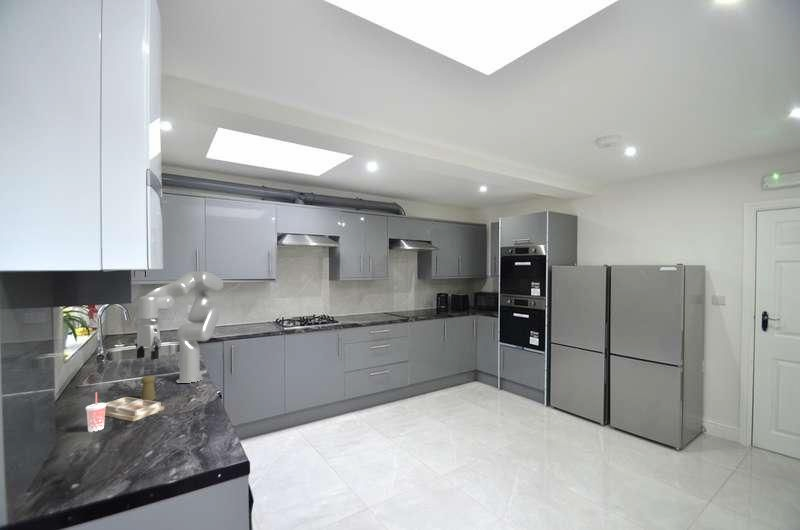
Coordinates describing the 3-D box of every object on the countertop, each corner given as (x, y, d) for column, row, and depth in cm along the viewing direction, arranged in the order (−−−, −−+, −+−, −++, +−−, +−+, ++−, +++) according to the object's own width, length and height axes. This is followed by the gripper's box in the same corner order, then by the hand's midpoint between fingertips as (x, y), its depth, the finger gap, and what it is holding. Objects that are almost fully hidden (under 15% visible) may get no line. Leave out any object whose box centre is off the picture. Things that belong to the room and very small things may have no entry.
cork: (147, 402, 164) (147, 378, 165) (136, 401, 166) (137, 377, 166) (159, 397, 170) (159, 374, 171) (148, 397, 172) (148, 374, 172)
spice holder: (127, 403, 163) (127, 395, 163) (164, 409, 155) (164, 401, 155) (95, 414, 151) (95, 405, 151) (132, 421, 143) (132, 412, 143)
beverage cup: (110, 427, 138) (110, 390, 138) (91, 433, 132) (91, 395, 132) (100, 424, 140) (100, 388, 140) (81, 431, 134) (82, 393, 135)
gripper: (168, 321, 169) (168, 358, 169) (143, 320, 175) (143, 355, 175) (152, 323, 162) (152, 361, 162) (127, 322, 168) (126, 359, 168)
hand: (147, 358), depth 168 cm, fingers open, 9 cm apart
